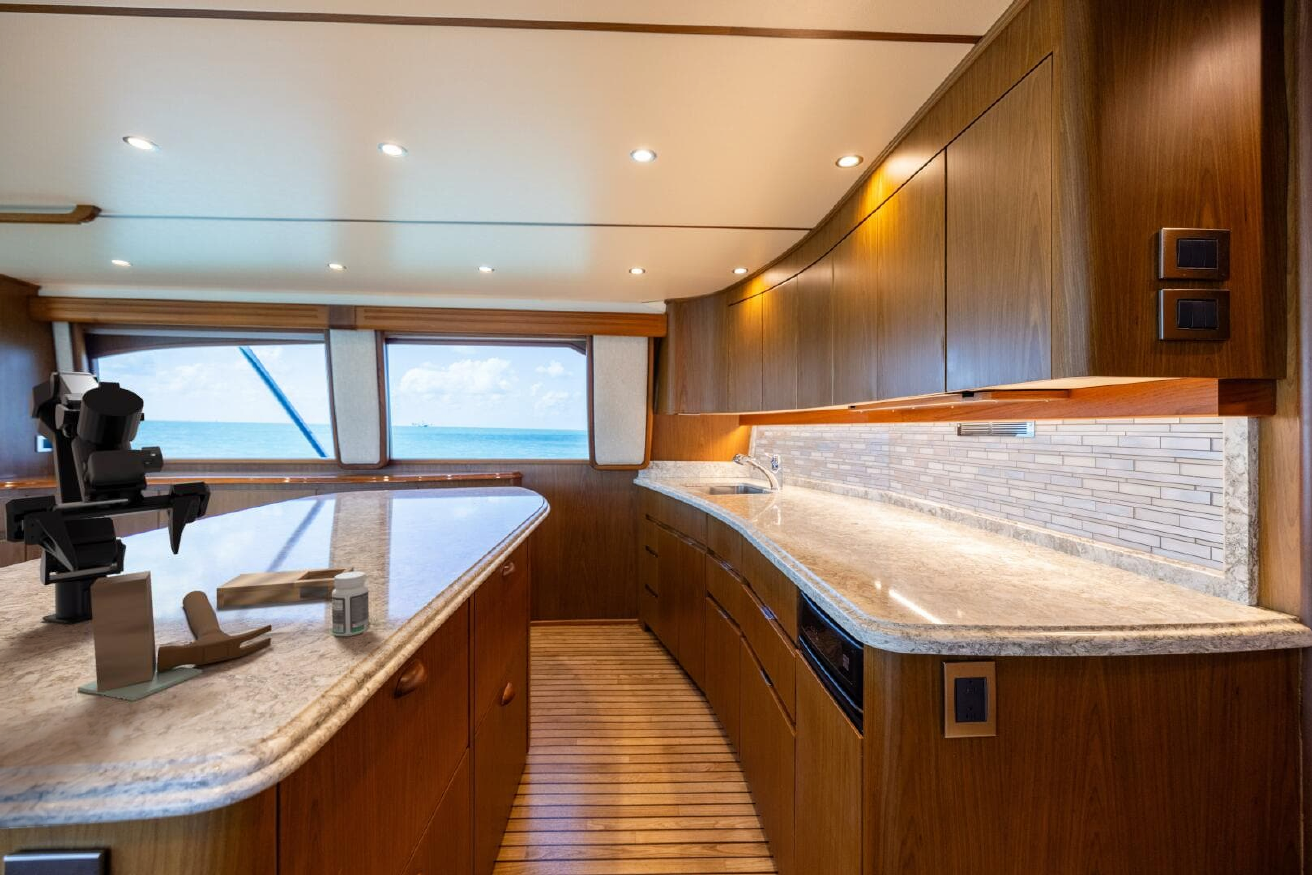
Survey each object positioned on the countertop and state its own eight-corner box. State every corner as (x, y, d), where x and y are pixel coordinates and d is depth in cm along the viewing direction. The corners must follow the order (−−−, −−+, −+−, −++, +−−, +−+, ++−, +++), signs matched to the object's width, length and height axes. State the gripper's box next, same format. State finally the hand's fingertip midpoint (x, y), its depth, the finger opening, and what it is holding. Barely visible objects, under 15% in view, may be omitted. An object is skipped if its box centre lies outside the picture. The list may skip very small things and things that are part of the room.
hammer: (157, 614, 86) (156, 675, 64) (159, 594, 86) (158, 649, 64) (248, 602, 94) (275, 654, 72) (249, 584, 94) (277, 630, 72)
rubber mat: (77, 690, 61) (77, 687, 61) (149, 664, 68) (149, 661, 68) (133, 700, 59) (133, 697, 59) (202, 673, 66) (202, 669, 66)
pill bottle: (372, 624, 82) (371, 569, 82) (364, 635, 78) (363, 577, 78) (337, 627, 81) (337, 571, 81) (327, 638, 77) (327, 580, 76)
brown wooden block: (104, 678, 64) (98, 578, 63) (156, 666, 66) (150, 570, 66) (97, 692, 60) (90, 586, 60) (152, 679, 63) (145, 578, 62)
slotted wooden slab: (215, 613, 87) (215, 589, 87) (241, 596, 96) (241, 574, 96) (340, 603, 92) (340, 580, 92) (353, 587, 101) (353, 566, 101)
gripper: (-2, 430, 62) (12, 538, 56) (203, 425, 77) (231, 509, 71) (0, 490, 68) (13, 595, 62) (191, 474, 82) (217, 557, 76)
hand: (128, 560), depth 68 cm, fingers open, 9 cm apart
